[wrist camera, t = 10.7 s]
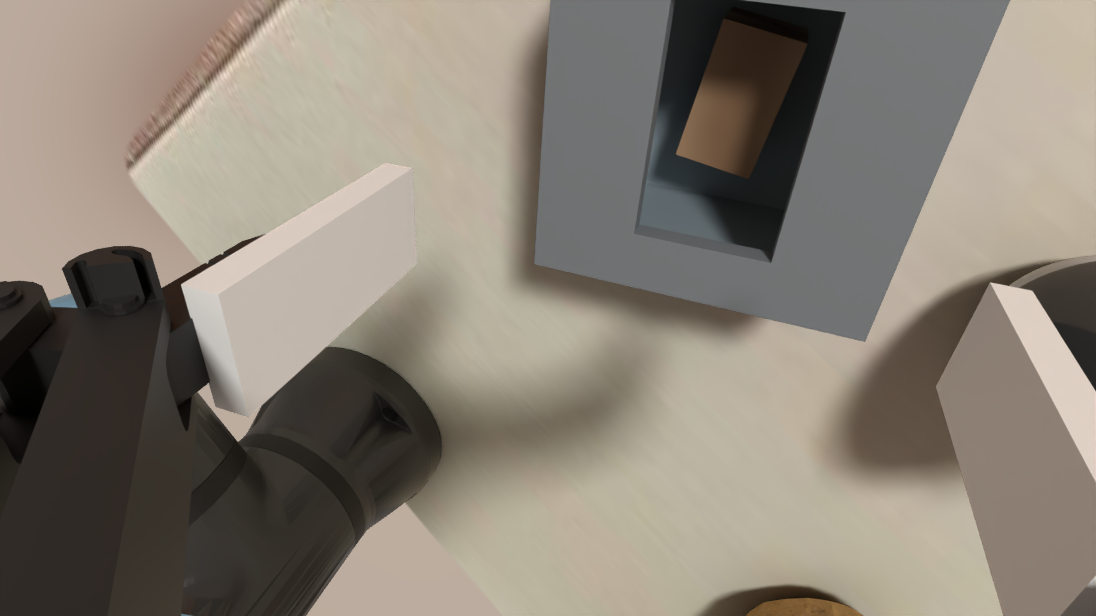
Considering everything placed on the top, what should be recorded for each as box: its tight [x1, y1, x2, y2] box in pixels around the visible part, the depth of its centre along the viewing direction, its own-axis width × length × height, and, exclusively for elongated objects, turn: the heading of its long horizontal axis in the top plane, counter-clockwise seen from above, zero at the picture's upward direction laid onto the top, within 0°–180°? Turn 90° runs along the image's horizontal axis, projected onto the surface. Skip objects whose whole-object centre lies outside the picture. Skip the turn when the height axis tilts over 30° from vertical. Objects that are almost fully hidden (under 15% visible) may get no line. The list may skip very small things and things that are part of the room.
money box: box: [534, 0, 1010, 342], centre depth 27 cm, size 14×14×10 cm
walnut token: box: [676, 6, 808, 179], centre depth 29 cm, size 4×6×4 cm, turn 167°
